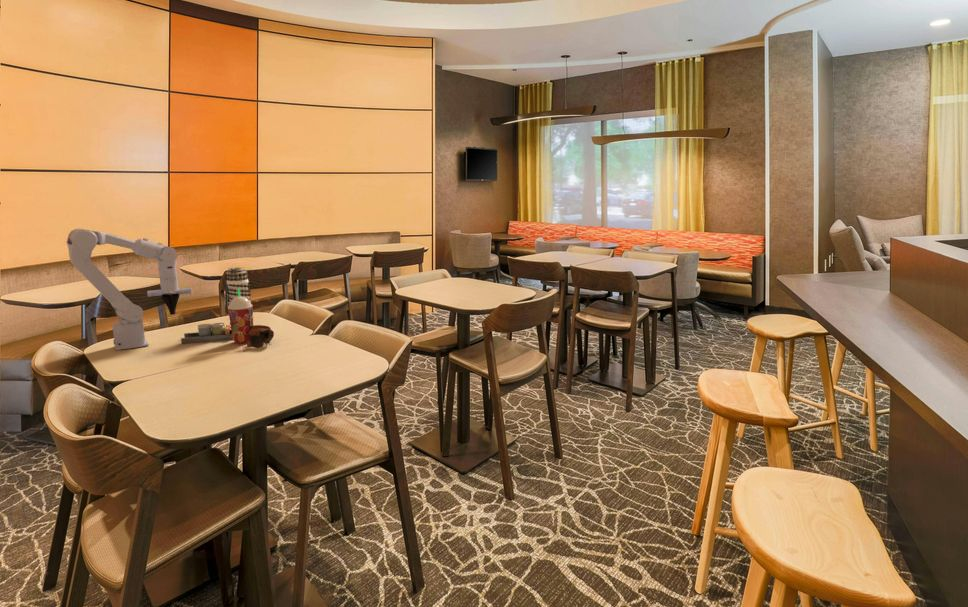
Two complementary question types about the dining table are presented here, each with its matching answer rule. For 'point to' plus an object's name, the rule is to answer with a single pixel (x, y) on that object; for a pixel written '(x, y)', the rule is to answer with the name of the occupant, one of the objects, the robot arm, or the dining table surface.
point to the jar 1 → (204, 330)
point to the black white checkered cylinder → (237, 284)
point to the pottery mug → (259, 335)
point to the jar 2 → (218, 329)
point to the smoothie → (240, 318)
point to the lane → (204, 338)
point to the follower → (227, 329)
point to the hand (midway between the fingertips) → (172, 314)
